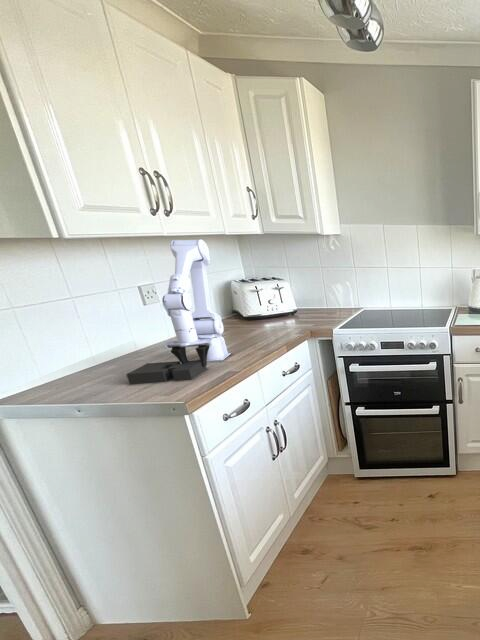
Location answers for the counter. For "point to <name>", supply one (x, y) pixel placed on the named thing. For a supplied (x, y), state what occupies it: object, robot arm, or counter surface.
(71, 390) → the counter surface
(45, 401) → the counter surface
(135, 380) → the notch pad
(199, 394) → the counter surface
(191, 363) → the tab pad
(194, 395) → the counter surface
